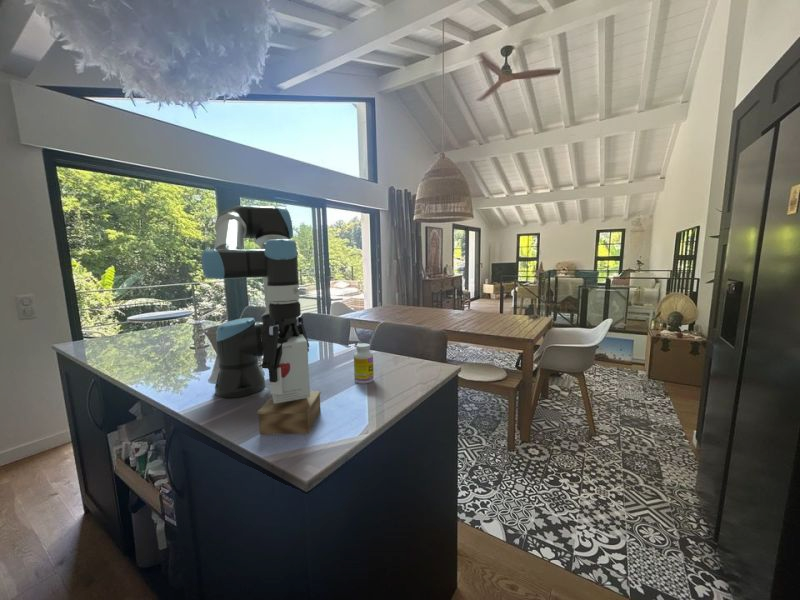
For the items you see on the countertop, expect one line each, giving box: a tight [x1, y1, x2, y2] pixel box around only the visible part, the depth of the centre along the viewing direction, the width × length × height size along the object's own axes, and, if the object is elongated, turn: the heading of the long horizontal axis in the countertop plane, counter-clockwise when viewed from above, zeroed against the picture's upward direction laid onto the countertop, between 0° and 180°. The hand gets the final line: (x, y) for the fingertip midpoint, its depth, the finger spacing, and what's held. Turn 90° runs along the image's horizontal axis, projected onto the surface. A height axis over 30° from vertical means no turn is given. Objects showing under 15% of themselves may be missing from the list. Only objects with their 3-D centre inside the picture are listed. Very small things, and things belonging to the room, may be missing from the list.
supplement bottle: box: [353, 342, 374, 385], centre depth 118 cm, size 7×7×13 cm
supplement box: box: [271, 334, 311, 404], centre depth 87 cm, size 9×9×15 cm
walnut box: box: [256, 390, 322, 435], centre depth 89 cm, size 12×12×6 cm
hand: (289, 384), depth 88 cm, fingers closed on supplement box, 12 cm apart
